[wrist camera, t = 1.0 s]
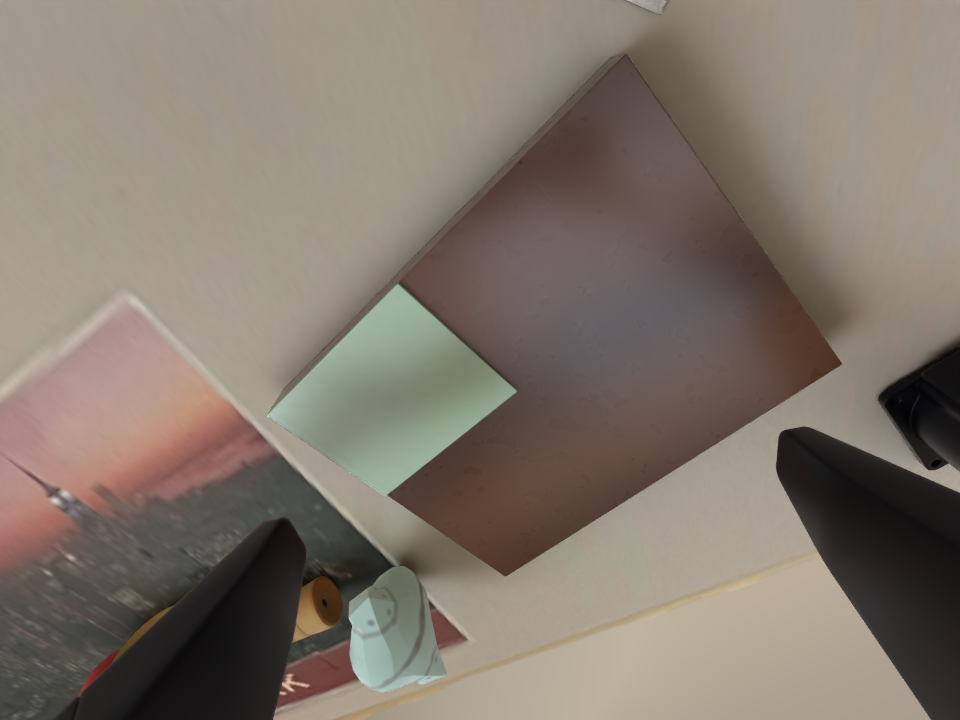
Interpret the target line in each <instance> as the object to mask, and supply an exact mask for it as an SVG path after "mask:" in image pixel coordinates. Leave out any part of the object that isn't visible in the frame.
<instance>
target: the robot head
mask: <svg viewBox="0 0 960 720" xmlns="http://www.w3.org/2000/svg"><path fill="white" fill-rule="evenodd" d="M349 619H350V621H351V623H352V633H351V644H350V658H351V663H352V667H353V671H354V672H355V674H356V675H357V677H358V678H359V679H360V681H361V682H362V684H363V685H364V686H366V687H368V688H370V689H372V690H375V691H378V692H384V693H385V692H388V691H392V690H395V689H398V688H400V687H401V686H403V685H406V684H411V683H416V682H417V683H418V684H420V685H422V684H425V683H428V682H431V681H434V680H437V679H439V678H442V677H445V676H448V675H447V672H446V669H445V667H444V664H443V661H442V658H441V655H440V652H439V650H438V647H437V643H436V638H435V634H434V629H433V624H432V620H431V614H430V608H429V602H428V598H427V594H426V590H425V588H424V586H423V585H422V584H421V582H420V581H419V579H418V578H417V576H416V575H415V573H414V572H413V571H411V570H410V569H408V568H407V567H405V566H399V567H392V568H391V569H389V570H388V571H386V572H385V573H384V574H382V575H381V576H379V578H378V579H377V580H376V582H375V583H374V585H372V586H370V587H368V588H367V589H366V590H364V591H363V592H362V593H360V594H359V595H358V596H357V597H355V598H354V599H353V600H351V601H350V602H349Z"/></svg>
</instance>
